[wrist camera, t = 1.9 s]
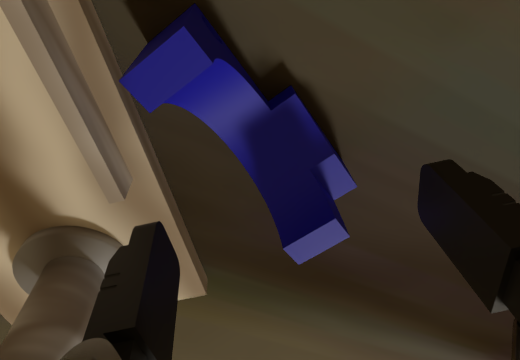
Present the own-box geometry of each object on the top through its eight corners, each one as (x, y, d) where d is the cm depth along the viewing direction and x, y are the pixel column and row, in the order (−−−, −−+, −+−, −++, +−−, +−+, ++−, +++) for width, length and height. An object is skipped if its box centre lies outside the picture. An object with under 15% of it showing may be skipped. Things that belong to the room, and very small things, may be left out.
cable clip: (341, 159, 22) (377, 221, 17) (282, 196, 23) (298, 264, 18) (220, -19, 16) (219, -5, 11) (148, 42, 17) (118, 81, 12)
